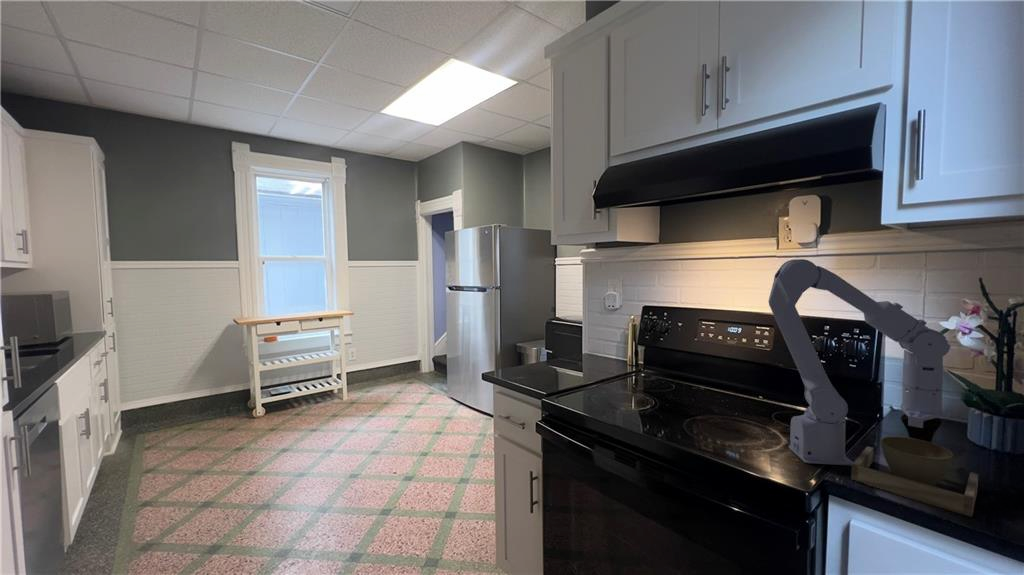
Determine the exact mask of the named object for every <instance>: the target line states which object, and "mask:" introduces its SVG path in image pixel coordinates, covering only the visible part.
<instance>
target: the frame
mask: <svg viewBox="0 0 1024 575" xmlns="http://www.w3.org/2000/svg"><path fill="white" fill-rule="evenodd" d="M853 462H854V463H853V464H852V465H851V469H850V475H851V476H850V479H853V480H856V481H859V482H862V483H864V484H863V485H865V484H866V485H865V486H870V487H872V486H873V487H872V488H875V487H876V488H875V489H878V488H880V489H879V490H882V489H884V490H883V491H885V490H887V491H886V492H888V491H890V492H889V493H891V492H892V494H895V495H899V496H902V497H905V498H909V499H910V500H911V499H912V500H915V501H918V502H920V503H925V504H927V505H932V506H935V507H937V508H942V509H944V510H948V511H950V512H954V513H957V514H960V515H964V516H967V517H970V518H972V517H973V514H974V510H975V504H976V499H977V494H978V489H979V487H978V486H979V473H977V472H972V471H969V472H970V473H969V475H968V476H969V477H968V480H967V484H966V488H965V491H964V493H963V494H962V493H958V492H956V491H951V490H949V489H948V490H947V489H945V488H940V487H937V486H931V485H927V484H923V483H920V482H916V481H913V480H909V479H906V478H902V477H898V476H895V475H894V474H891V473H887V472H883V471H882V470H877V469H873V468H870V466H871V465H872V463H874V447H871V446H866V447H865V449H863V451H862V452H861V453H860V454H859V456H858V457H857V458H856V459H855V460H854V461H853ZM859 482H858V483H859ZM862 483H861V484H862Z"/></svg>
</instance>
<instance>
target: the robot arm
mask: <svg viewBox="0 0 1024 575" xmlns="http://www.w3.org/2000/svg"><path fill="white" fill-rule="evenodd" d="M771 286H772V287H771V290H770V295H769V297H768V306H769V307H770V310H771V312H772V314H773V315H772V316H773V317H774V319H775V322H776V324H777V326H778V328H779V330H780V332H781V334H782V336H783V339H784V341H785V344H786V346H787V348H788V350H789V353H790V355H791V357H792V359H793V362H794V363H795V365H796V368H797V371H798V372H799V375H800V378H801V380H802V383H803V385H804V398H805V400H806V402H807V403H808V405H809V406H808V407H807V408H806V409H805V410H804V414H801V415H796V416H795V415H794V416H792V417H791V419H790V425H789V426H790V430H789V431H790V432H789V433H790V434H789V435H790V438H789V441H790V442H789V443H790V444H789V445H788V448H789V449H790V450H791V451H792V452H793V453H794V454H795V455H796V456H797V457H798V458H800V460H802V461H803V462H804V463H806V464H818V465H831V466H837V465H838V466H849V467H850V466H851V465H852V464H853V463H854V462H855V461H852V460H851V459H849V457H847V456H846V426H847V425H846V422H847V421H846V419H847V418H846V416H847V415H848V412H849V407H848V406H849V405H848V403H847V401H846V400H845V399H844V398H843V397H842V396H841V395H840V394H839V392H838V390H837V389H836V388H835V387H834V386H833V384H832V382H831V380H830V378H829V377H828V375H827V373H826V371H825V369H824V367H823V364H822V362H821V360H820V357H819V355H818V353H817V351H816V349H815V347H814V345H813V342H812V340H811V338H810V335H809V334H808V331H807V329H806V327H805V325H804V323H803V321H802V318H801V316H800V314H799V312H798V309H797V307H796V305H797V304H798V302H799V300H800V298H801V297H802V295H803V294H804V293H805V292H806V291H807V290H808V289H810V288H812V289H816V290H821V291H828V292H829V293H831V295H832V294H833V295H834V296H836V297H837V298H839V299H840V300H842V301H844V302H846V303H847V304H848V305H850V306H852V307H854V308H855V309H857V310H859V312H862V313H863V316H864V317H863V318H864V322H865V323H866V324H868V325H869V326H871V328H874V329H875V330H876V331H878V332H880V333H881V334H883V335H885V337H887V338H889V339H890V340H892V341H893V342H895V343H898V345H899V346H900V348H901V349H903V362H902V390H901V391H902V393H901V395H902V399H901V403H902V404H900V410H901V411H902V412H903V413H904V414H902V415H901V416H900V421H901V422H902V424H903V426H904V427H905V429H906V432H907V435H908V437H909V438H914V439H919V440H923V441H927V442H931V443H933V439H934V436H935V433H936V432H937V431H938V430H939V428H940V426H942V423H943V419H941V417H943V418H950V417H951V412H950V411H946V410H943V387H944V386H943V381H944V380H943V379H944V378H943V377H944V364H943V363H944V362H943V360H944V356H946V355H947V354H948V353H949V351H950V350H951V346H952V345H951V344H949V341H948V340H947V337H946V336H945V335H944V334H943V333H942V332H940V331H938V330H935V329H933V328H929V326H926V325H927V321H925V320H924V319H921V318H920V319H917V318H916V317H914V316H913V315H911V314H909V313H908V312H906V311H905V310H903V308H904V307H903V306H902V305H901V304H899V303H898V302H893V303H892V302H890V301H887V300H886V301H875V300H874V299H873V298H871V297H870V296H869V295H867V294H865V293H864V292H863V291H861V290H860V289H858V288H857V287H855V286H854V285H852V284H851V283H849V282H848V281H846V280H845V279H843V278H842V277H841V276H839V275H838V274H836V273H834V272H832V271H830V270H829V269H826V268H824V267H822V266H820V265H816V264H815V263H814V262H812V261H811V260H808V259H804V258H799V259H797V258H795V259H790V260H787V261H785V262H784V263H782V264H781V266H780V267H779V269H778V270H777V271H776V273H775V274H774V278H773V283H772V285H771Z"/></svg>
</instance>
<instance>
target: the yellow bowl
mask: <svg viewBox="0 0 1024 575" xmlns="http://www.w3.org/2000/svg"><path fill="white" fill-rule="evenodd" d="M880 445H881V449H882V453H883V457H884V459H885V461H886V463H887V465H888V468H889V469H890V471H891V472H892V475H895V476H898V477H902V478H906V479H909V480H913V481H916V482H920V483H923V484H927V485H931V486H934V487H937V485H938V484H939V483H940V482H941V481H942V479H944V477H945V476H946V474H948V471H949V470H950V467H951V464H952V462H953V458H954V453H953V452H952V451H950V450H949V448H946V447H943V446H941V445H939V444H937V443H933V442H932V443H931V442H927V441H923V440H919V439H914V438H909V436H908V437H907V436H900V435H899V436H896V435H894V436H884V437H882V438H881V439H880Z"/></svg>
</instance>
